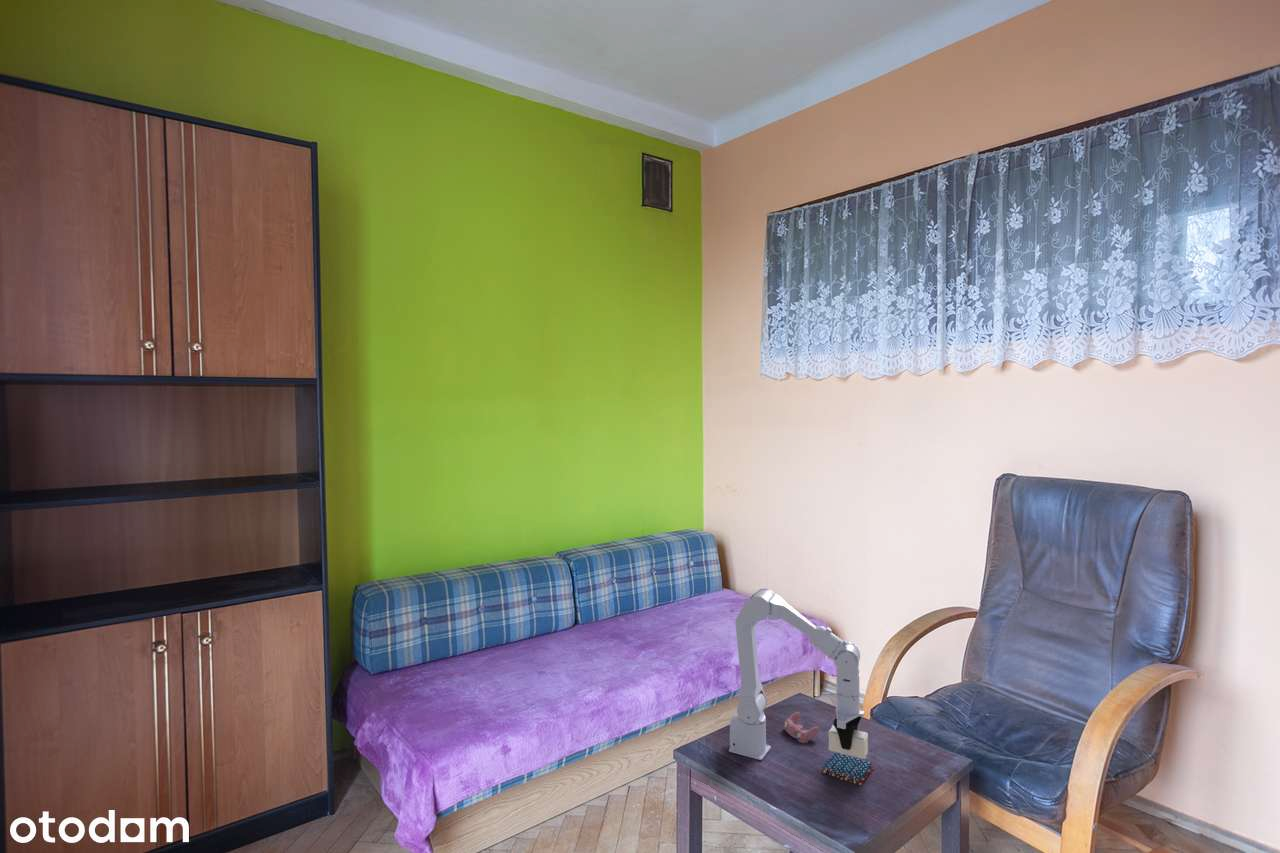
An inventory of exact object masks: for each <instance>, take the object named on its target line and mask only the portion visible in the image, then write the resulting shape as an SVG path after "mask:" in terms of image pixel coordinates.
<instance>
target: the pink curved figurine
mask: <svg viewBox="0 0 1280 853" xmlns="http://www.w3.org/2000/svg"><path fill="white" fill-rule="evenodd" d="M800 718H801V712H799V711H796V712H794V713H793V714H791V715H790V716H789V717H788V718H786V719H785V720H784V724H783V729H784V730H785V732H786V733H787V734H788V735H789V736H791V737H792V738H794V739H796V741H797V742H799V743H801V744H807V743H809V741H811V740H813V739H814V738H815V737H816V736H817V735H818V734H819V732H820V727H819V726H812V728H810V729H804V727H803V725H802V724H798V723H797V722H798V721H799V719H800Z"/></svg>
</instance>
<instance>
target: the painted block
mask: <svg viewBox="0 0 1280 853" xmlns="http://www.w3.org/2000/svg"><path fill="white" fill-rule="evenodd" d="M828 751H831V752H834V753H840V754H842V755H846V756H851V757H853V758H857V759H861V760H862V759H864V760H865V759H866V757H867V754H868V753H869V734H868V732H867V731H861V730H858V729H857V730H854V733H853V738H852V745H851V748H850V750H847V749H842V747H841V744H840V739H839V735H838V732H837V730H836V728H835V727H834V724H832V726H831V728H830V729H829V731H828Z"/></svg>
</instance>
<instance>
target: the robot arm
mask: <svg viewBox="0 0 1280 853" xmlns="http://www.w3.org/2000/svg"><path fill="white" fill-rule="evenodd" d="M768 617H769V620H770V621H773V620H774V621H775V620H782V621H784V622H785V623H788V624H789V625H790V626H792V627H793V628H795V629H797V630H798V631H799V632H801V633H802V634H804V635H805V636H806V637H808V640H809V644H810V645H811V646H813V647H814V648H815V649H817V650H818V651H819V652H821V653H822V654H824V655H825V656H826V657H827V658H829V659H830V660H831V661H833V662H834V665H835V667H836V679H835V680H836V683H835V684H836V686H835V690H836V693H835V694H836V697H835V698H836V702H835V703H836V705H835V706H836V707H835V714H836V718H834V719H833V722H832V723H833V724H832V725H834V727H835V728H836V730H837V732H838V735H839V739H840V744H841V747H842V749H847V750H850V748H851V745H852V738H853V733H854V730H858V728H859V723H860V721H861V719H862V718H863V717H864V716H865V711H864V710H861V709H860V706H861V705H860V669H859V667H860V665H859V663H860V660H861V652H860V650H859V647H857V646H856V645H855V644H854V643H852V642H848V641H847V640H846V639H844V640H843V639H842V638H840V637H838V636H837V635H836V634H834V633H833V632H832V631H833V629H831V627H828V626H827V627H825V626H824V625H817V626H816V625H815V624H814V623H813V622H811V621H810V620H808V618H806V617H805V616H804V615H802V614H801V613H800V612H799V611H797V610H796V609H795V608H794V607H793V606H791V605H790V604H789V603H788V602H786V601H785V599H783V598H782V596H781V595H779V594H777V593H776V594H775V592H774V591H772V590H771V589H769V588H760V589H758V590H757V591H756V592H755V593H753V594H752V595H751V596H750V597H749V599H747V601H746V602H744V603H743V605H742V608H741V609H740V611H739V612H738V614H737V616H736V617H735V618H736V619H735V630H736V631H735V632H736V641H737V642H736V644H737V653H738V654H737V655H738V666H739V674H740V689H739V690H740V691H739V694H738V699H739V701H738V704H737V707H736V713H735V714H733V715H732V717H731V719H730V723H729V749H728V752H729V753H734V754H737V755H740V756H744V757H747V758H750V759H751V758H752V759H755V760H758V761H762V760H763V759H764V758H765V756H766V755H767V754H768V753H769V752H770V750H771V748H772V746H771V745H769V744H767V723H766V722H767V720H766V719H767V718H766V717H767V716H766V715H765V711H764V710H765V708H766V707H767V706H768V698H767V695H766V693H765V691H764V687H763V684H762V683H761V681H760V671H759V669H760V668H759V659H758V650H757V648H758V647H757V638H756V636H757V635H756V627H755V625H756V624H757V623H759V622H761V621H763V620H765V619H767V618H768Z"/></svg>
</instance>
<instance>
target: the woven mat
mask: <svg viewBox="0 0 1280 853" xmlns="http://www.w3.org/2000/svg"><path fill="white" fill-rule="evenodd" d="M821 768H822V769H821V771H822V773H823V774H828V775H829V776H832V777H835V776H836V778H840V780H842V781H843V780H844V781H849V782H850V783H852V782H853V784H858V785H859V786H861V785H862V784H863V782H865V781H866V779H867V778H868V776H869V774H872V771H873V769H874V765H873V763H872V762H870V761H867V760H862V758H858V757H854V756H850V755H846V754H842V753H838V752H834V753H833V755H831V756H830V757H829V758H828V760H826V763H825V762H824V765H822V766H821Z"/></svg>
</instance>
